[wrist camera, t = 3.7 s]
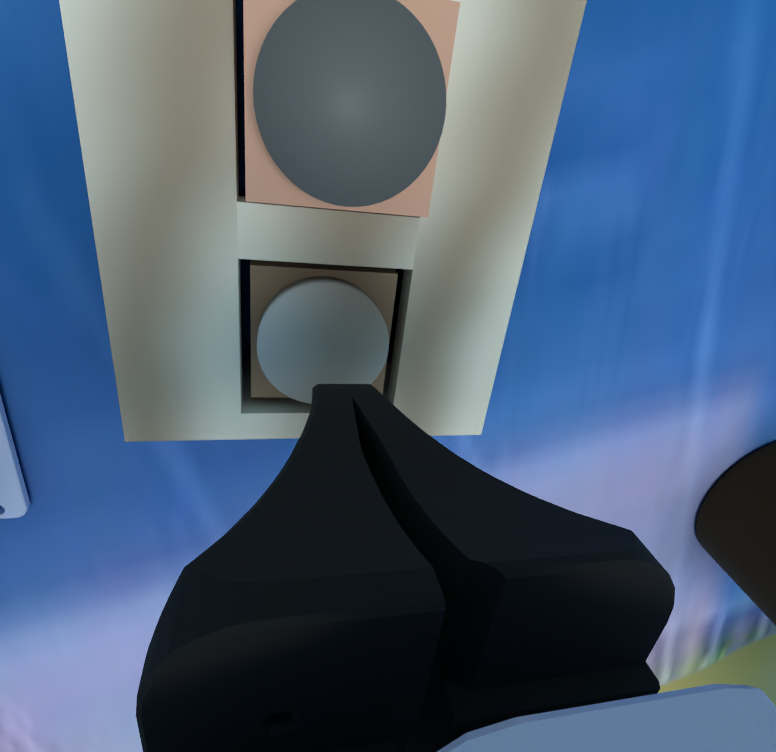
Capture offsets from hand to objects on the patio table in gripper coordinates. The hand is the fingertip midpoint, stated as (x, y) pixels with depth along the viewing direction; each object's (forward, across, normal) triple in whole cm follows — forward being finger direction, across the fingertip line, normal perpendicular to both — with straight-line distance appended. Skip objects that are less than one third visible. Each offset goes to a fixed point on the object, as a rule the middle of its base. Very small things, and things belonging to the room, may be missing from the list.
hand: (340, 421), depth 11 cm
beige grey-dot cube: (+6, 0, -6) cm, 9 cm away
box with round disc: (+8, 0, 0) cm, 8 cm away
